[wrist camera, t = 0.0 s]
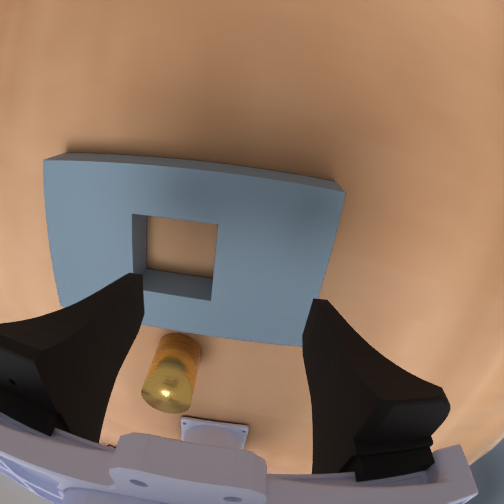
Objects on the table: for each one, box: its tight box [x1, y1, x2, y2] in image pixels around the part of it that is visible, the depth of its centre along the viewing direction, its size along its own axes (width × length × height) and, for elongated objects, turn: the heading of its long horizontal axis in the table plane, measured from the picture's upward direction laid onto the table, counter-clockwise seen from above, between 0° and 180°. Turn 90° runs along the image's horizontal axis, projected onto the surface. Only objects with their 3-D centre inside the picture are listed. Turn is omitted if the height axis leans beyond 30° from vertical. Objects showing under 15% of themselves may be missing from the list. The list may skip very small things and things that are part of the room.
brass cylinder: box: [141, 333, 201, 413], centre depth 25 cm, size 4×4×6 cm
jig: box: [43, 153, 346, 347], centre depth 21 cm, size 12×20×3 cm, turn 82°
